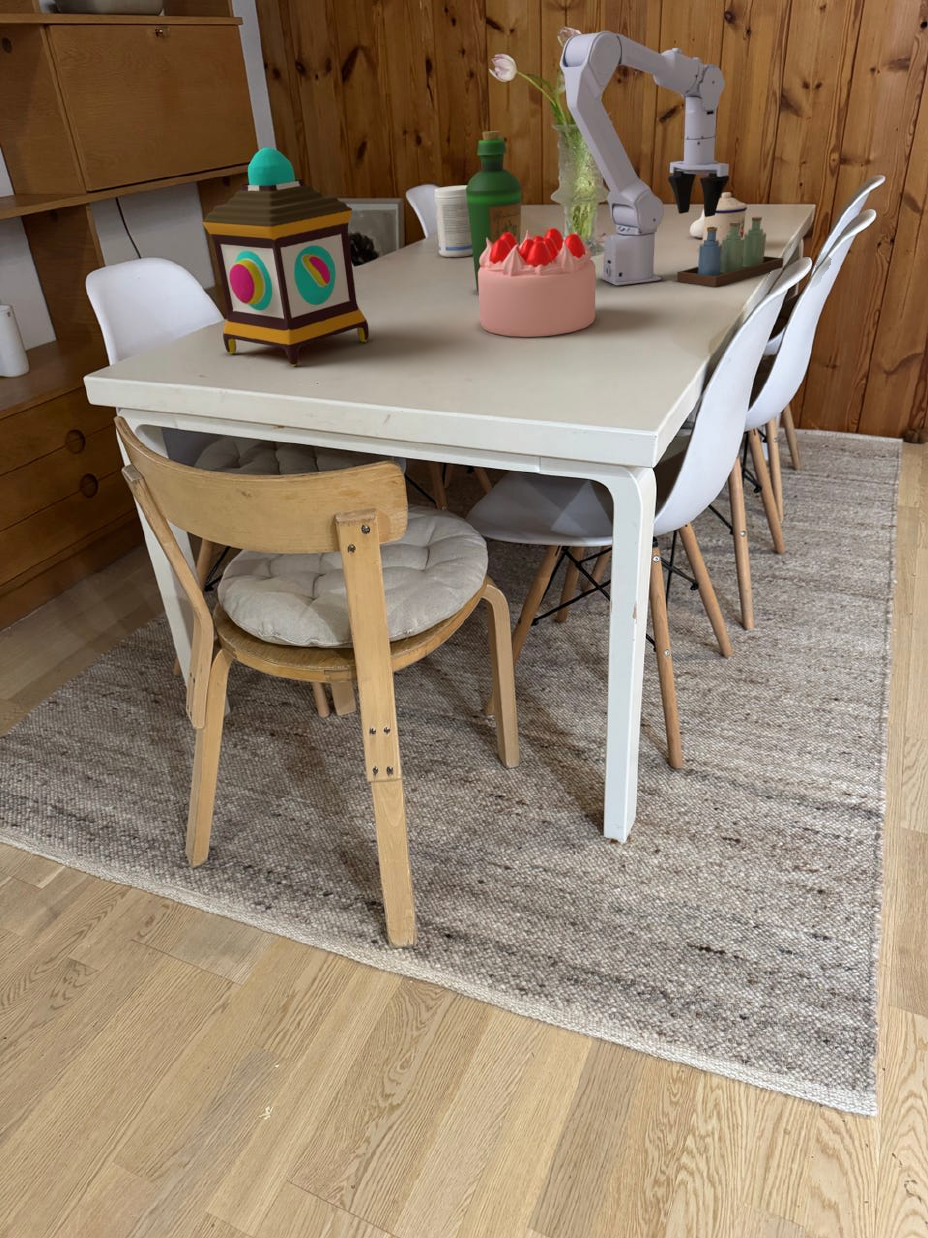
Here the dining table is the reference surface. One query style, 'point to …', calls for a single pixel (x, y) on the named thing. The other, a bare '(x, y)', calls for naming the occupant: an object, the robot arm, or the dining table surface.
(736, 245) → the green bottle mid
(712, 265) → the blue bottle
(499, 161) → the bottle
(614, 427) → the dining table surface
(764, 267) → the tray
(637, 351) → the dining table surface
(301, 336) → the decorative lantern
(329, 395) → the dining table surface
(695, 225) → the garlic bulb
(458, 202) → the supplement tub
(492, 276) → the cake
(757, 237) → the green bottle far
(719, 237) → the cream enamel lidded pot
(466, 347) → the dining table surface
